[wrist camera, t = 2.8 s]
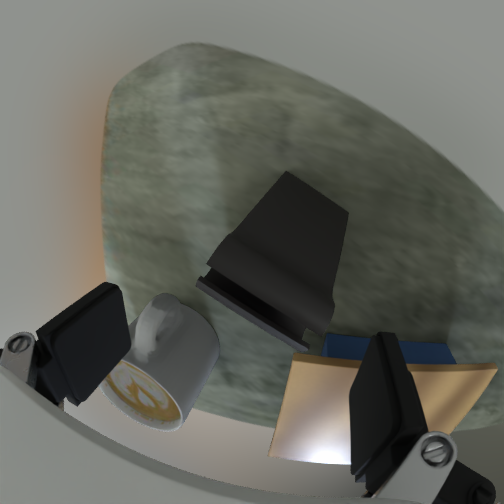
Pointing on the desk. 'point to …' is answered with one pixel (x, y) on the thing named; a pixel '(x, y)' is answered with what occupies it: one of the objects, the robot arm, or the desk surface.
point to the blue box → (411, 350)
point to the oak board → (337, 404)
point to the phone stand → (281, 262)
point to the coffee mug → (163, 364)
